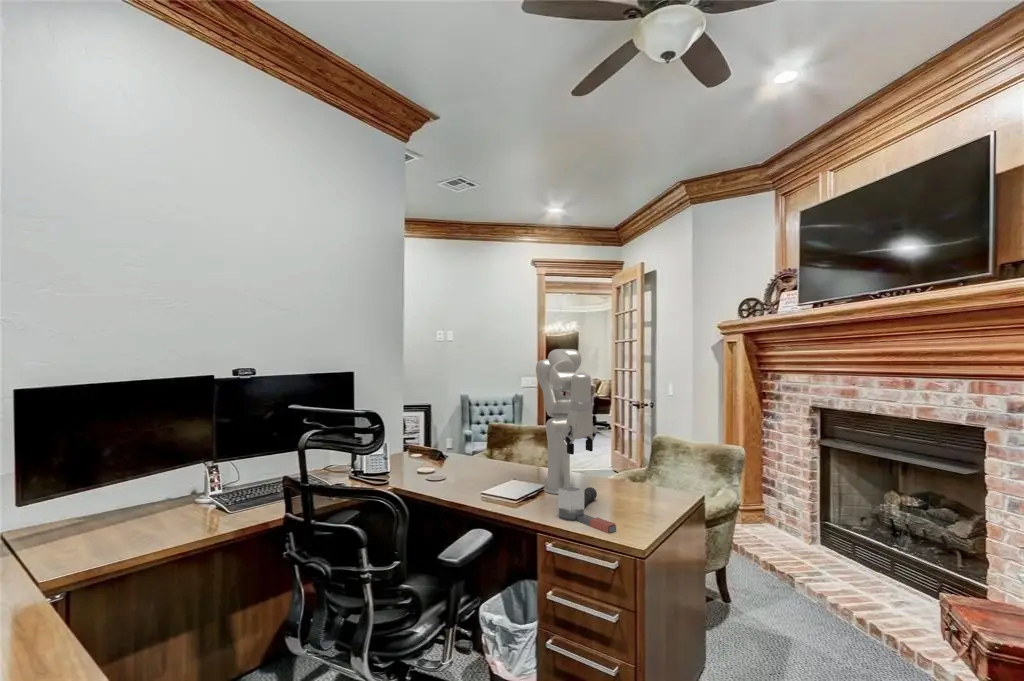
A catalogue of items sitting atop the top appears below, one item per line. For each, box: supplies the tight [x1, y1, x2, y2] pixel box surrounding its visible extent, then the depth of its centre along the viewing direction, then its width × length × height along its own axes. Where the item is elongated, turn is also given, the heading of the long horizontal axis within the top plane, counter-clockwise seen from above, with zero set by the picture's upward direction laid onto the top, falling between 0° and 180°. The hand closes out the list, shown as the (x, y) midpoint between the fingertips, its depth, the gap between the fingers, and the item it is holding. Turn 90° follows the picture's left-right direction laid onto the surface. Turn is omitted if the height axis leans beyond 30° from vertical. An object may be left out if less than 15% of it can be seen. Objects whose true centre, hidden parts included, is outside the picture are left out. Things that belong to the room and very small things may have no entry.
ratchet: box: [558, 508, 617, 534], centre depth 170 cm, size 24×9×7 cm, turn 38°
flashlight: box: [584, 486, 598, 507], centre depth 192 cm, size 15×5×5 cm, turn 149°
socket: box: [557, 485, 585, 513], centre depth 176 cm, size 7×7×7 cm
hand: (579, 452), depth 182 cm, fingers open, 9 cm apart
